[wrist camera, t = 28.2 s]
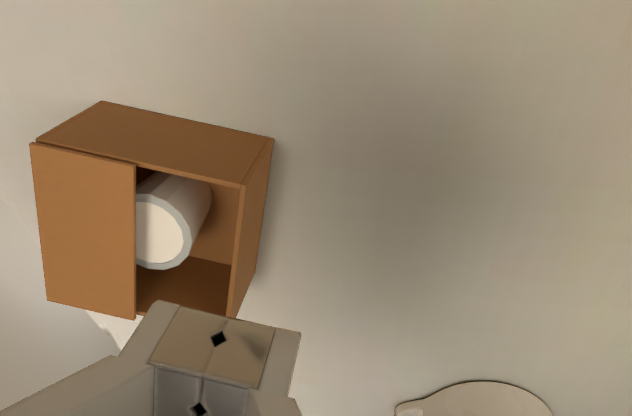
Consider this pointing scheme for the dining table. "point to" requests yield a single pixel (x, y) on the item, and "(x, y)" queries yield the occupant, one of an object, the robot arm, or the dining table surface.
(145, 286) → the carton
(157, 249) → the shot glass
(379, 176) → the dining table surface
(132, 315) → the flap
